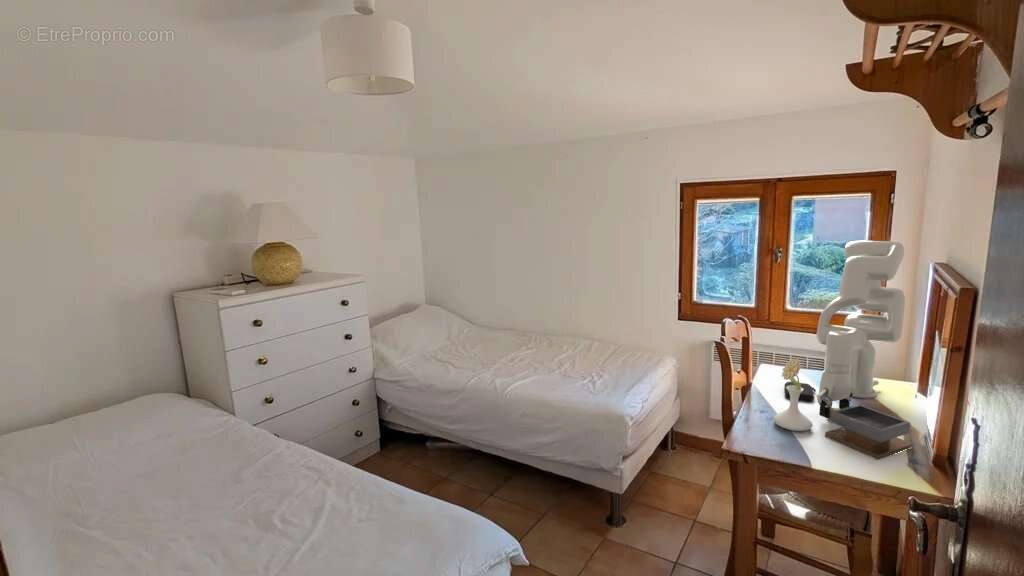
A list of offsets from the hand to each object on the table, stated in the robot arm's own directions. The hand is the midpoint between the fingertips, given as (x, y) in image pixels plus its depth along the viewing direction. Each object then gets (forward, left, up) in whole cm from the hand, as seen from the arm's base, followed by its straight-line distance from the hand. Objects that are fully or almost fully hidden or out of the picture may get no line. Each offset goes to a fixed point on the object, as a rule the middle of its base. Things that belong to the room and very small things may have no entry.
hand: (834, 414), depth 165 cm
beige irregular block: (0, 0, -2) cm, 2 cm away
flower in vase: (+18, -2, -2) cm, 18 cm away
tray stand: (+6, +15, -2) cm, 16 cm away
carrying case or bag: (-10, -20, -3) cm, 23 cm away
